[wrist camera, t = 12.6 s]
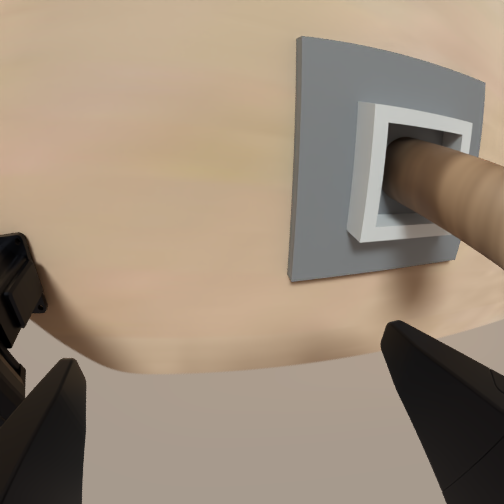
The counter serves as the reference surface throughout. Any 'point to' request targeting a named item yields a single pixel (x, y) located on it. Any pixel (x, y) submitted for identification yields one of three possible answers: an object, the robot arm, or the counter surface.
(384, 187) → the mill
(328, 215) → the grey square frame plate
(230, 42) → the counter surface
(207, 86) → the counter surface
